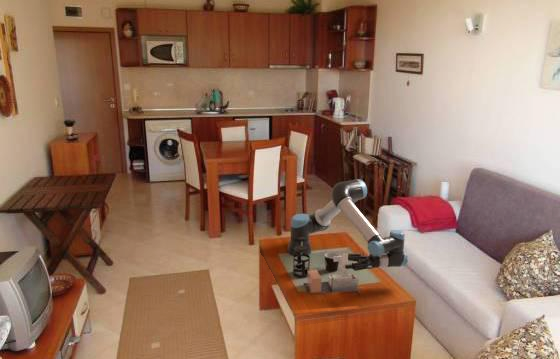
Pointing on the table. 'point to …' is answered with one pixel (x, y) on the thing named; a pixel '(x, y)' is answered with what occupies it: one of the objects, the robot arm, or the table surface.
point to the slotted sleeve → (337, 286)
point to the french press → (301, 263)
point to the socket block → (314, 281)
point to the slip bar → (343, 273)
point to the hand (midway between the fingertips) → (336, 262)
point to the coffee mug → (331, 262)
